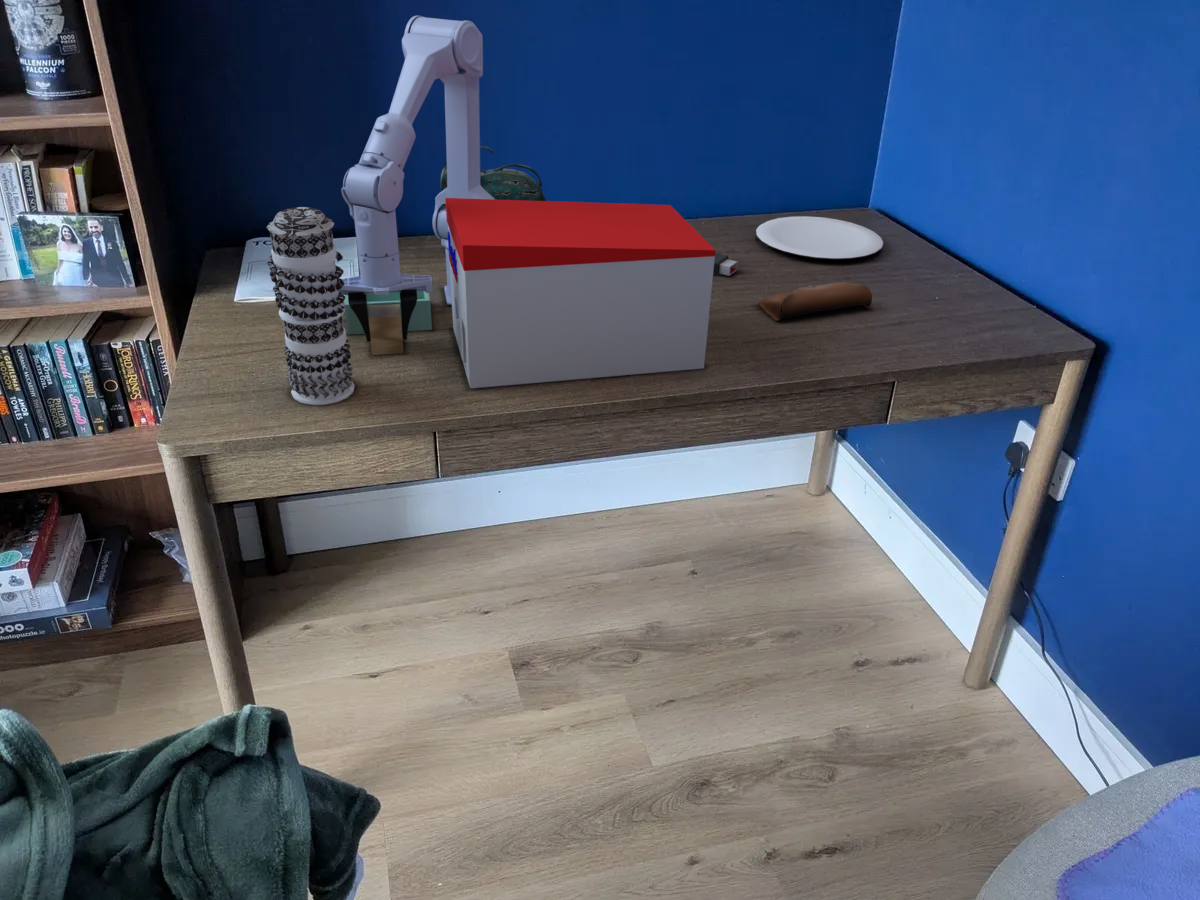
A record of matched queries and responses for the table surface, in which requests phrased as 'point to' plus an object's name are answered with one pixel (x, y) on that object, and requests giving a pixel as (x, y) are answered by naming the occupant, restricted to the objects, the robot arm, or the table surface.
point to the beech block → (385, 329)
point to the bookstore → (575, 290)
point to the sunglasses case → (816, 299)
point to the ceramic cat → (506, 183)
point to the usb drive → (724, 265)
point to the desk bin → (419, 315)
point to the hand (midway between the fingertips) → (386, 338)
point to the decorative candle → (311, 305)
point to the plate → (819, 238)
